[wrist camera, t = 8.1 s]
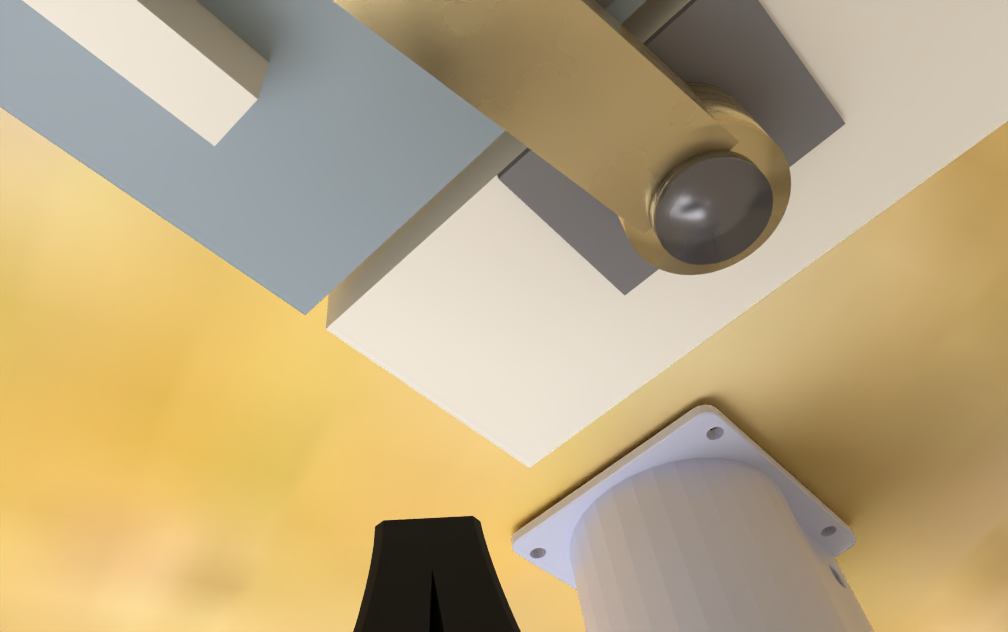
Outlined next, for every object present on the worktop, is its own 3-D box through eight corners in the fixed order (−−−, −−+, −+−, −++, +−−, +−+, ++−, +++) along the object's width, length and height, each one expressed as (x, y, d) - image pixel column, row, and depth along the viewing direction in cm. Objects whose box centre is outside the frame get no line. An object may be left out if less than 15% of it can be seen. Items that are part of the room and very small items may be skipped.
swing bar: (783, 143, 17) (834, 198, 15) (672, 249, 18) (706, 313, 17) (131, -465, 11) (78, -500, 9) (28, -238, 12) (-38, -227, 10)
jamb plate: (1322, -170, 17) (1404, -158, 15) (521, 429, 24) (530, 473, 23) (1241, -549, 13) (1341, -578, 12) (329, 292, 20) (325, 334, 19)
